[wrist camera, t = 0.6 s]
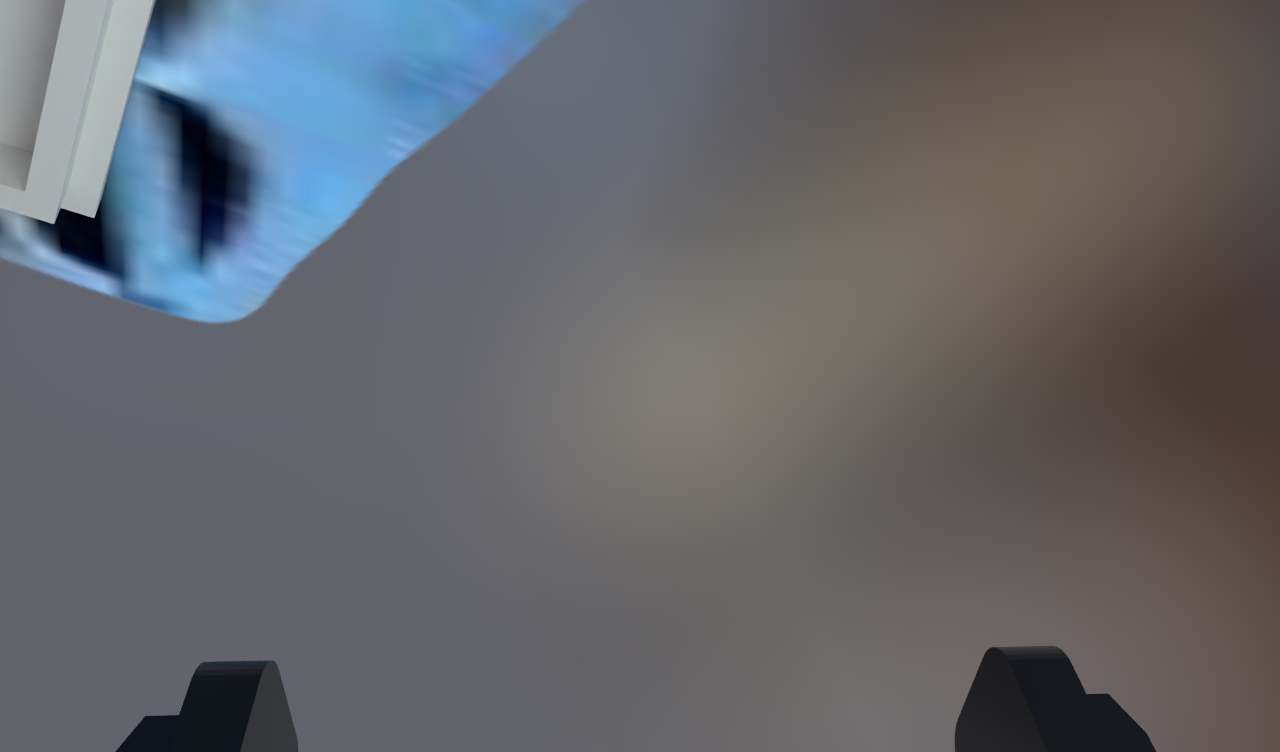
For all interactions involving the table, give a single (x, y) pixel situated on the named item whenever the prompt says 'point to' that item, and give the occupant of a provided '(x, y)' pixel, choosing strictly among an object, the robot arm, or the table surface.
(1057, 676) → the robot arm
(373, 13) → the table surface
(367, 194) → the table surface
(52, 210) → the shallow square tray
